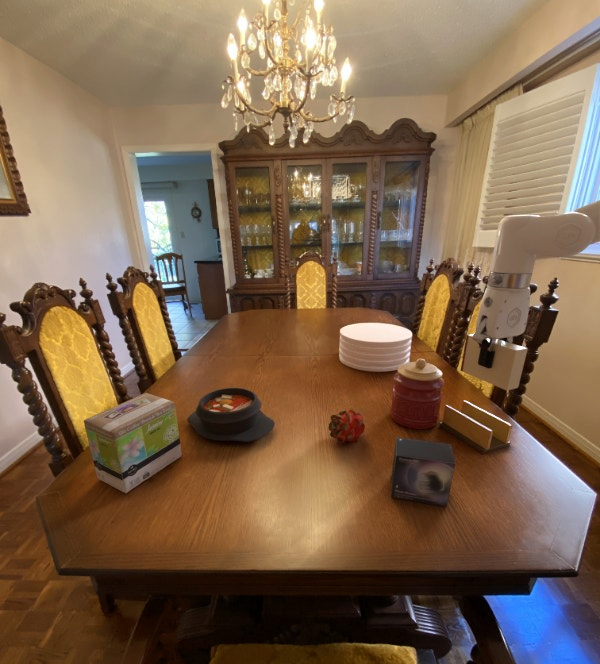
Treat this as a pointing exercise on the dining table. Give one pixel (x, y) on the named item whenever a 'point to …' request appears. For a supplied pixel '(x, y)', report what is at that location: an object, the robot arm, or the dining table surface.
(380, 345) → the plate stack
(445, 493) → the small box
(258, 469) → the dining table surface
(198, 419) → the casserole
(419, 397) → the kitchen canister
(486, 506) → the dining table surface
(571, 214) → the robot arm
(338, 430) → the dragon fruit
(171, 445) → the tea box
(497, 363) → the book
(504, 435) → the rack
